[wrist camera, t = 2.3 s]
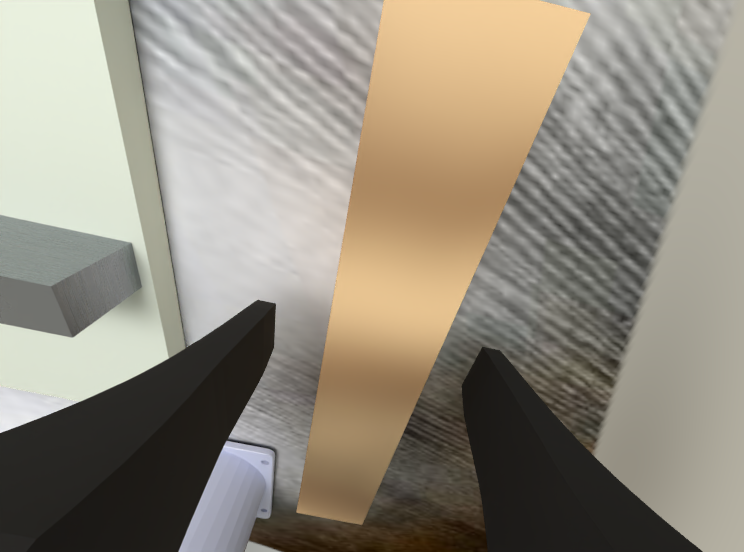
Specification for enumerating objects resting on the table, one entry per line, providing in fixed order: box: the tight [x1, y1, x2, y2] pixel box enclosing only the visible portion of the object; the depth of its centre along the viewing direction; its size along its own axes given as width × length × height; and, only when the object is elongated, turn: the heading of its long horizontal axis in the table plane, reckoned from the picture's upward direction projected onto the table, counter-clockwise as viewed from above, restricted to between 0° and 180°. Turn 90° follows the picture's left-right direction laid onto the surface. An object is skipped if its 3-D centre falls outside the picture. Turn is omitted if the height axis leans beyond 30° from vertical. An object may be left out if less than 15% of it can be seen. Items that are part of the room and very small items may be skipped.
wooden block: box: [296, 0, 590, 525], centre depth 11 cm, size 18×3×5 cm, turn 168°
